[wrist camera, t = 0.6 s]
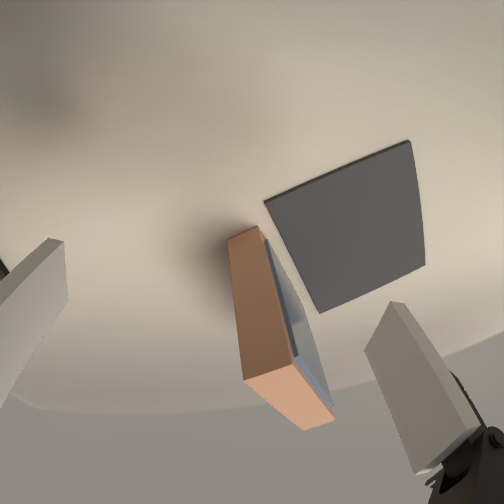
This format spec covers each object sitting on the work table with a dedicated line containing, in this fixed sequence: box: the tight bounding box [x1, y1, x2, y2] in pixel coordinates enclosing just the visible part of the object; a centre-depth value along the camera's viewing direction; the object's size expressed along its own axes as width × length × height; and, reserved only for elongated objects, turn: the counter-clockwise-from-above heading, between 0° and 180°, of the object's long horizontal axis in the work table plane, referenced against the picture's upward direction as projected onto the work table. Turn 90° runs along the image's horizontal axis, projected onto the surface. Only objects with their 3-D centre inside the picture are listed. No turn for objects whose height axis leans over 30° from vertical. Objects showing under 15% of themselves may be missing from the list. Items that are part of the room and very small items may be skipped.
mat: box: [265, 140, 425, 314], centre depth 29 cm, size 14×16×1 cm
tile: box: [227, 226, 335, 431], centre depth 26 cm, size 3×12×14 cm, turn 25°
